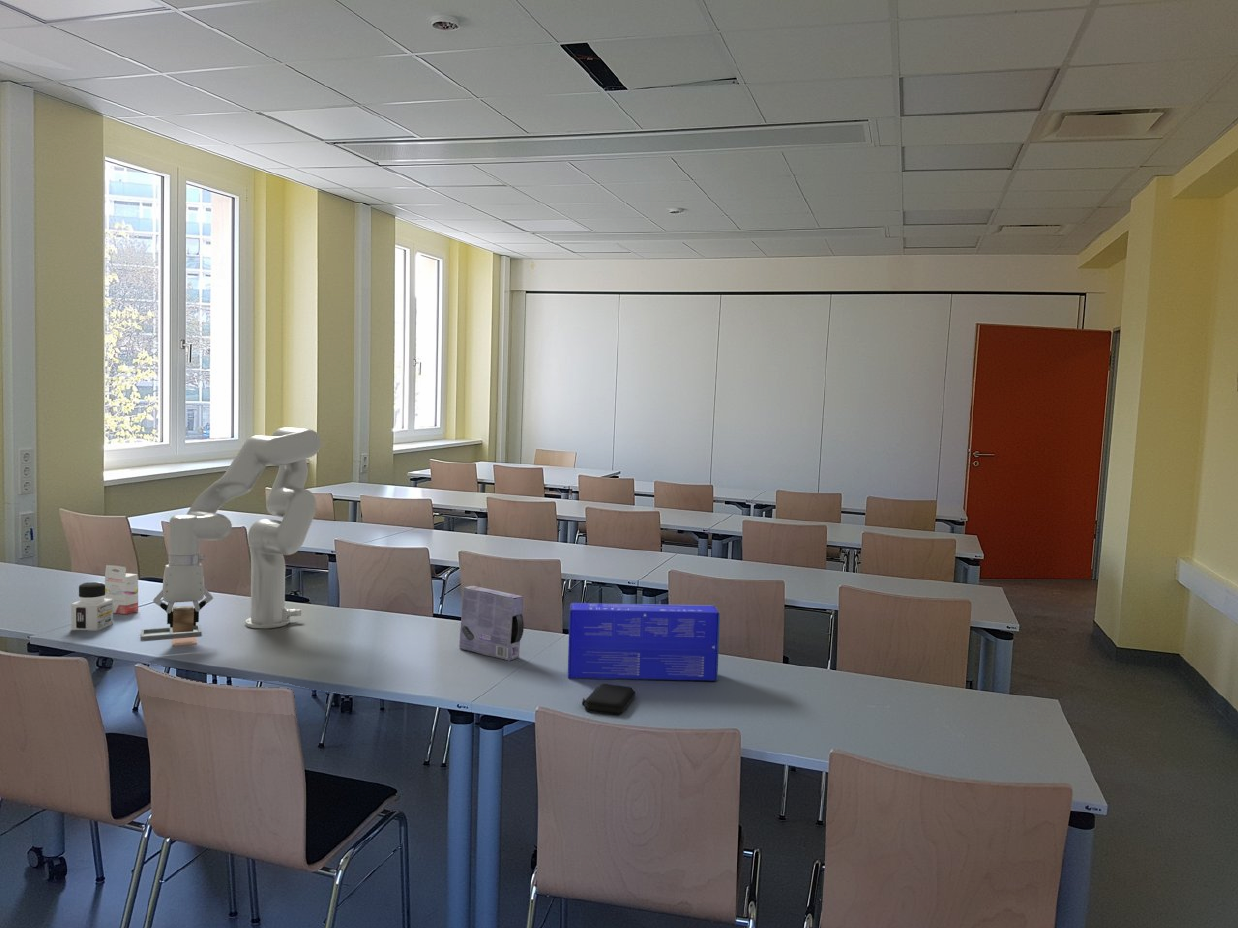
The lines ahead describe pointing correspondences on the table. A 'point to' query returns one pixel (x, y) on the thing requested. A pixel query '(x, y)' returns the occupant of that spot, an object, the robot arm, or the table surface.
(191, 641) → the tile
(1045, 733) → the table surface
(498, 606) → the cake pan box
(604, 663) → the toner cartridge box
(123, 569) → the ink cartridge box
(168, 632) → the cubby strip
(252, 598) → the robot arm
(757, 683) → the table surface
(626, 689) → the carrying case or bag
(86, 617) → the container
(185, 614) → the brown labeled box
